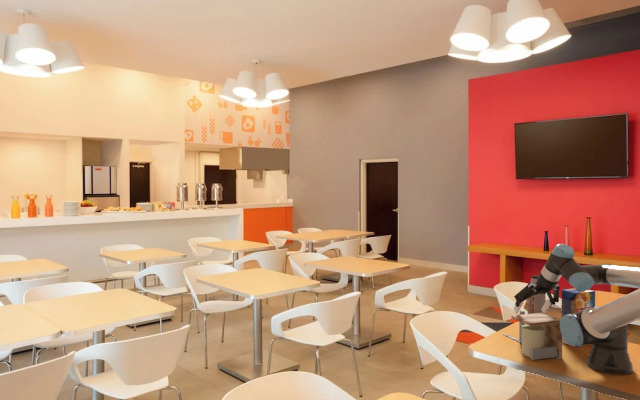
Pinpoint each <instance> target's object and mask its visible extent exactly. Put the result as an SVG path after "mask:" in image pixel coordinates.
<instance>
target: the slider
mask: <svg viewBox="0 0 640 400" xmlns="http://www.w3.org/2000/svg"><path fill="white" fill-rule="evenodd" d="M523 314H526V311H525V310H519V315H523ZM518 323H519V333H518V334H519V341H520V342H522V325H525V324H524V323H522V322H519V321H518ZM520 342H519V343H520ZM553 357H558V352H557V347H555V346H553V347H545V348H536V349H531V357H530V360H531V361H534V360H542V359H543V360H544V359H550V358H551V359H552V358H553Z"/></svg>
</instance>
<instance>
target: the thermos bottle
mask: <svg viewBox="0 0 640 400" xmlns="http://www.w3.org/2000/svg"><path fill="white" fill-rule="evenodd" d="M538 276H539V275H531V276H530V282H531V283H532V284H535V283H536V282H537V278H538ZM534 291H535V292H536V290H535V289H534ZM546 295H547V293H545V294H537V295H533V296H532V297H530V298H528V299H526V301H527V304H526V305H527V307H526V308H527V313H526V314H534V313H543V312H542V310H541V309H542V307H543V305H544V304H545V302H546V300H547V298H546ZM543 314H544V313H543Z"/></svg>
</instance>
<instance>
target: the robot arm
mask: <svg viewBox="0 0 640 400" xmlns="http://www.w3.org/2000/svg"><path fill="white" fill-rule="evenodd" d="M574 257H575V250H574V248H573V247H571V246H569V245H567V244H565V243H558V244H556V245H555V246H554V248H553V249H552V251H551V252H550V254H549V256H548V258H547V260H546V262H545V264H544V266H543V267H542V269H541V271H540V272H539V274H538V275H537V276H538V278H537V282H536V283H535V284H532V283H531V281H530V282H528V283H527V284H526V285H525V286H524V287H523V288H522V289H521V290H520V291H518V292H517V293H516V294H515V295H514V296H513V297H514V299H515V304H514V307H513V311H514V312H515V314H518V313H520V311H521V308H522V307H523V304H524V301H527V299H528V298H530V297H532V296H533V295H537V294H545V293H546V295H547V297H548V298H546V302H545V304H544V305H543V307H542V309H541V310H542V312H543V313H544V314H546V315H547V313H548V311H549V309H550V308H552V306H553V305H556V303H559V302H560V289H561V287H560V285H559V284H558V283H559V281H560V279H561V278H562V277H563V278H564V279H565V280H566V281H567V283H569V285H570V286H571V287H573V289H576V290H577V291H579V292H584V291H586V290H591V288H592V287H593V286H594V285H610V286H619V287H626V288H632V289H633V288H634V289H636V290H634V291H632V292H630V293H627V294H624V295H622V296H621V297H618V298H617V299H615V300H611V301H610V302H608V303H606V304H604V305H602V306H597V305H595V307H593V308H586V309H584V310H582V311H580V312H578V313H575V314H567V315H564V316H563V317H562V316H561V318H560V331H561V334H562V336H563V338H564V339H565V340H566V341H567V342H568V343H569V344H571V345H573V346H572V347H574V346H578V347H582V346H581V345H585V346H589V345H588V344H591V345H592V346H591V348H590V351H589V353H588V356H587V359H586V360H587V363H586V364H587V366H588V367H590V368H591V369H593V370H596V371H599V372H602V373H606V374H612V375H629V374H632V373H633V371H634V370H633V369H634V368H633V363H632V361H631V357H630V355H629V351H628V345H629V344H628V343H629V339H628V337H629V336H628V335H629V331H628V330H629V324H632V323H634V322H637V321H639V320H640V267H635V266H634V267H633V266H625V265H624V266H623V265H621V266H620V265H614V264H608V263H603V264H594V265H593V264H592V265H591V264H589V265H580V263H578V262H577V261H576V260H575V259H574ZM534 289H535V290H536V292H535V291H534ZM551 291H552V293H553V294H552V293H551ZM552 295H553V296H552ZM569 344H568V345H569ZM571 345H570V346H571Z"/></svg>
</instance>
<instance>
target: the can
mask: <svg viewBox="0 0 640 400" xmlns="http://www.w3.org/2000/svg"><path fill="white" fill-rule="evenodd" d="M536 348H545V328H544V327H542V326H530V325H527V324H525V325H522V343H521V350H520V353H521V354H522V355H523V356H525V357H528V358H531V349H536Z"/></svg>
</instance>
